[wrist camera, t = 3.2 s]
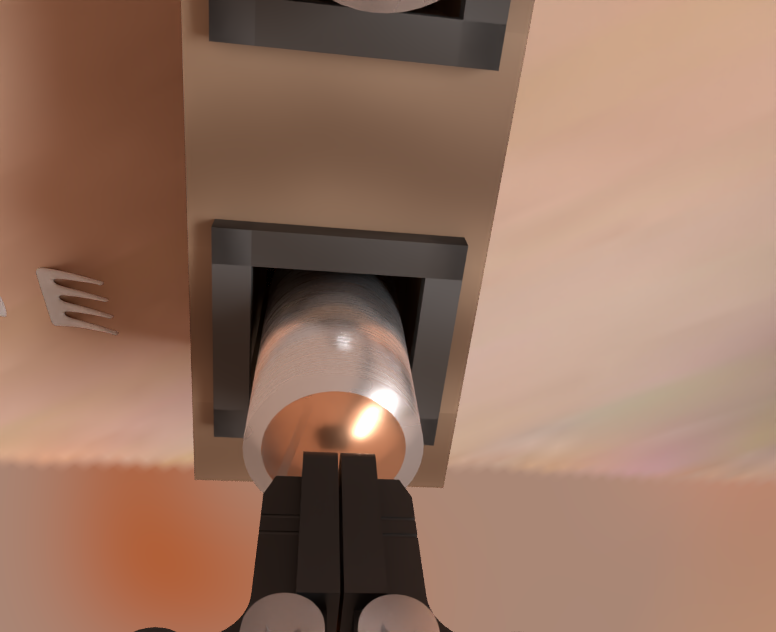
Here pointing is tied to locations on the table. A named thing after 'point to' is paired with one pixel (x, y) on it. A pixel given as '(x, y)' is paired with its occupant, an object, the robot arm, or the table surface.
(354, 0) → the peg
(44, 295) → the fork
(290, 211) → the walnut bar
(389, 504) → the robot arm
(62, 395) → the table surface
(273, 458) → the peg
